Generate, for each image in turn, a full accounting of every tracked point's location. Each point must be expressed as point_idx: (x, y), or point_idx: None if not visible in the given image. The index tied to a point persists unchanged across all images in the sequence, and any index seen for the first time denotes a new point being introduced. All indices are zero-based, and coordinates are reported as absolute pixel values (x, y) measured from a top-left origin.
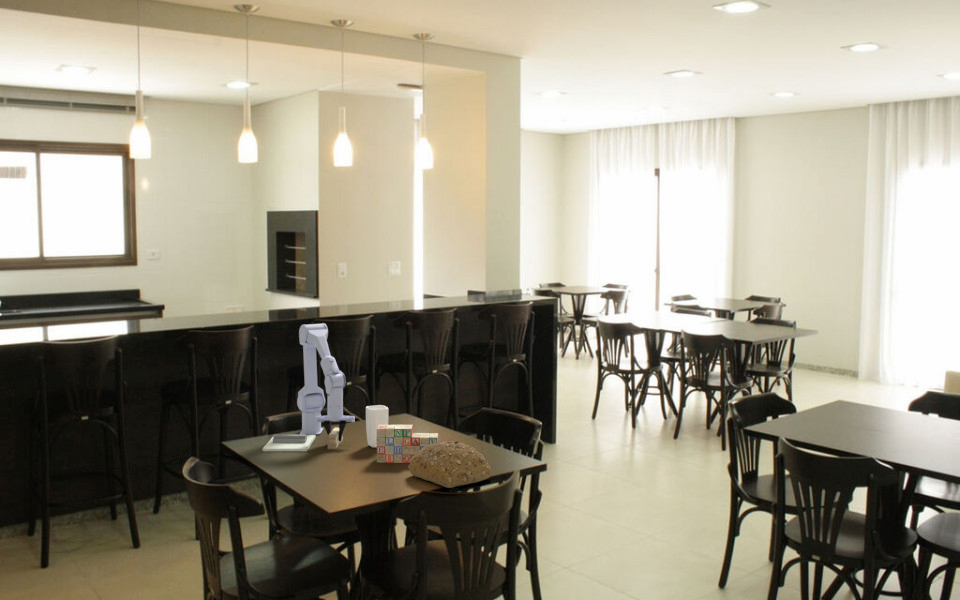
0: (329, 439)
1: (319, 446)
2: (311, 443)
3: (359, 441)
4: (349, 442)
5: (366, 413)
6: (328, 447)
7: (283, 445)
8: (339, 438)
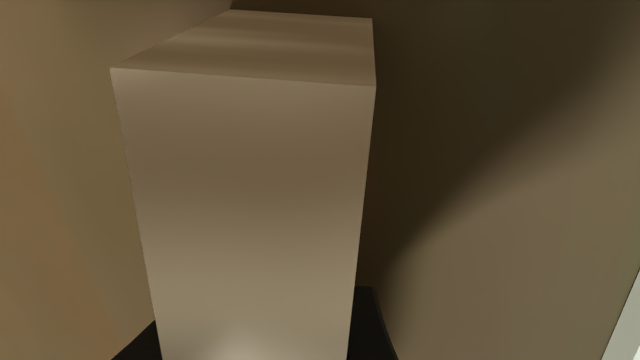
0: (320, 58)
1: (513, 187)
2: (629, 308)
3: (52, 356)
4: None
5: None
6: (354, 21)
7: None
8: None
